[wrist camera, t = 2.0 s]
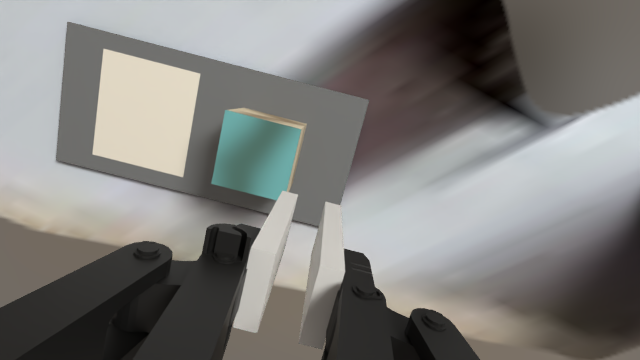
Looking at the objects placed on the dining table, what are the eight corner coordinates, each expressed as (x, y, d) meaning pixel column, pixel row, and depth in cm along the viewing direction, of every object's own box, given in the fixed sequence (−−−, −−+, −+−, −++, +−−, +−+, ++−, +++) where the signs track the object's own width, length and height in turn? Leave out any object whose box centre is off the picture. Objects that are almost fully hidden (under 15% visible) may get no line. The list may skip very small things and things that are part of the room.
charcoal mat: (368, 100, 34) (369, 100, 33) (333, 227, 37) (333, 230, 36) (72, 22, 33) (67, 21, 32) (60, 158, 36) (55, 160, 35)
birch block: (306, 123, 34) (301, 129, 28) (292, 184, 35) (283, 202, 29) (244, 107, 34) (225, 110, 28) (231, 169, 35) (211, 183, 29)
